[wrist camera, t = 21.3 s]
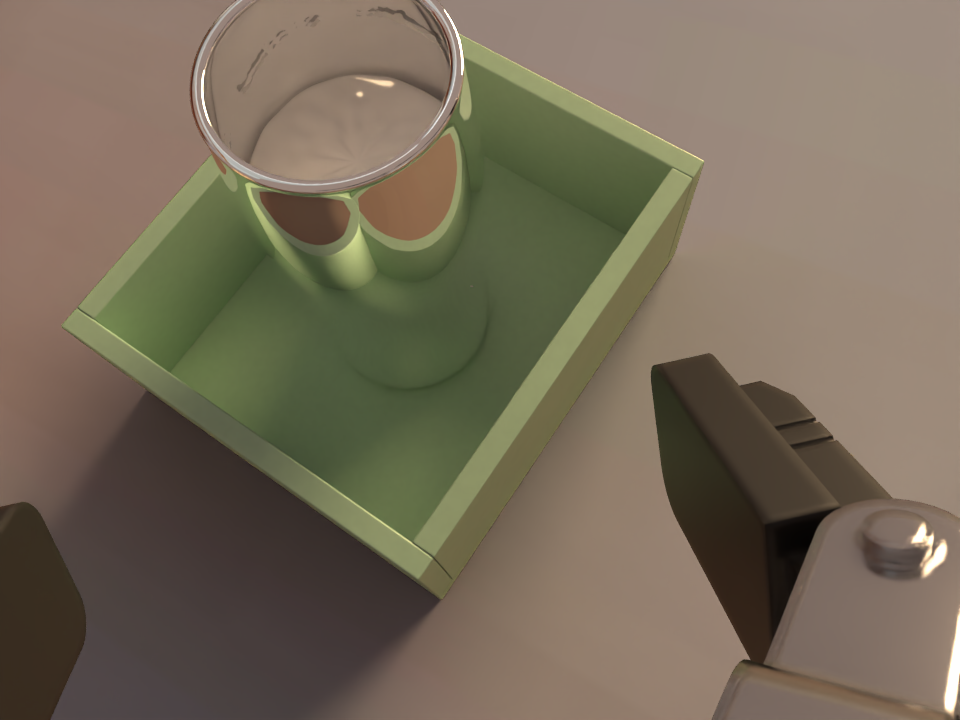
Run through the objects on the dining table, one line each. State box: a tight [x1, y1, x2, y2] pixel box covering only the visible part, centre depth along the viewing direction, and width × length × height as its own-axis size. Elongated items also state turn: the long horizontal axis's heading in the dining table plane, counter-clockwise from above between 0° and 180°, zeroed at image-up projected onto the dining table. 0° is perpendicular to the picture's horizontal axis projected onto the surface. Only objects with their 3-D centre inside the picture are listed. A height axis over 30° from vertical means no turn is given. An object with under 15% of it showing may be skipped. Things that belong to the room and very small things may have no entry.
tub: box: [61, 34, 704, 600], centre depth 32 cm, size 17×15×7 cm
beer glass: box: [190, 0, 488, 389], centre depth 28 cm, size 7×7×15 cm
